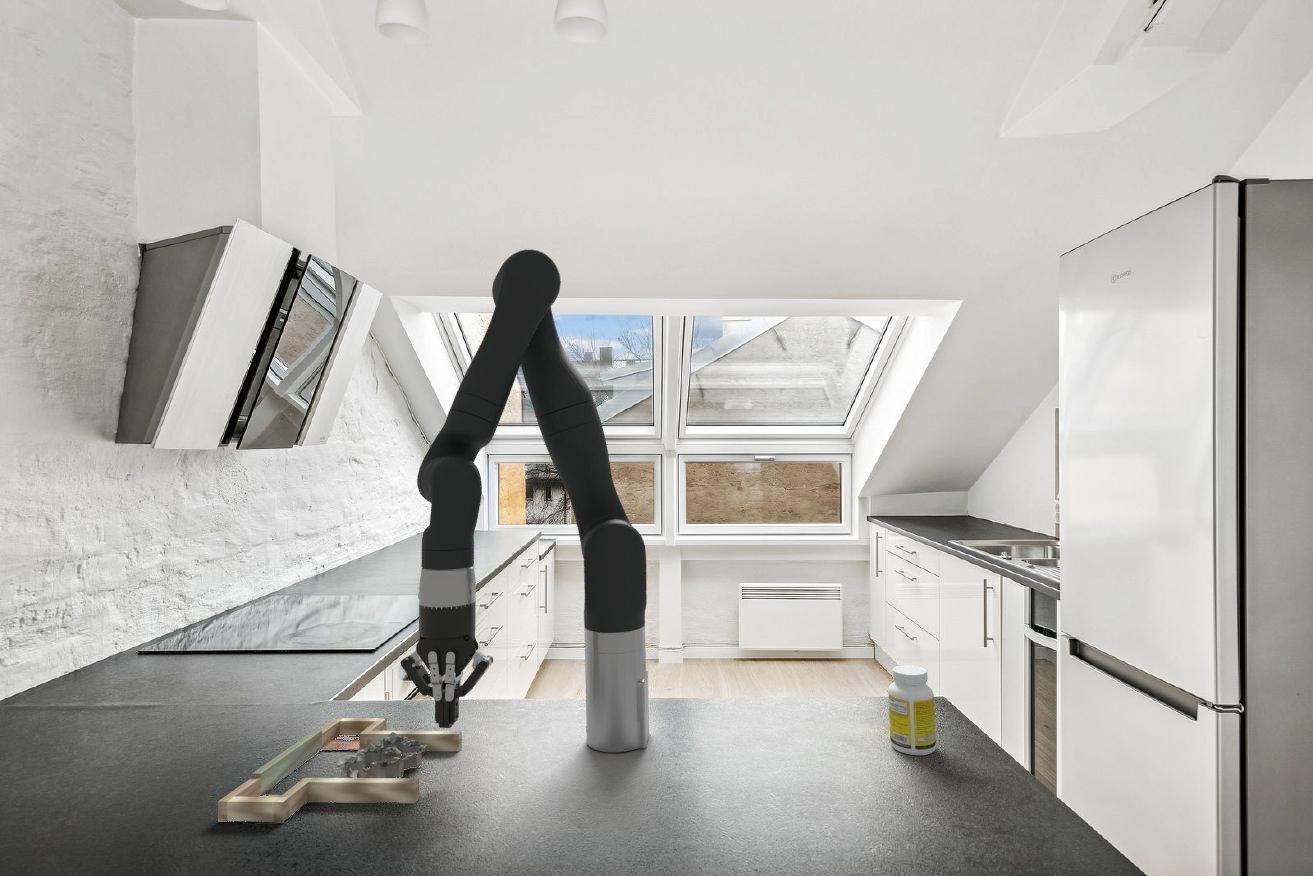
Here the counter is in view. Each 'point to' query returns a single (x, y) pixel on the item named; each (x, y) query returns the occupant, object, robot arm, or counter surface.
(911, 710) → the pill bottle
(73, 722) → the counter surface
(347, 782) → the box
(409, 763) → the egg carton
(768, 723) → the counter surface
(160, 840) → the counter surface
